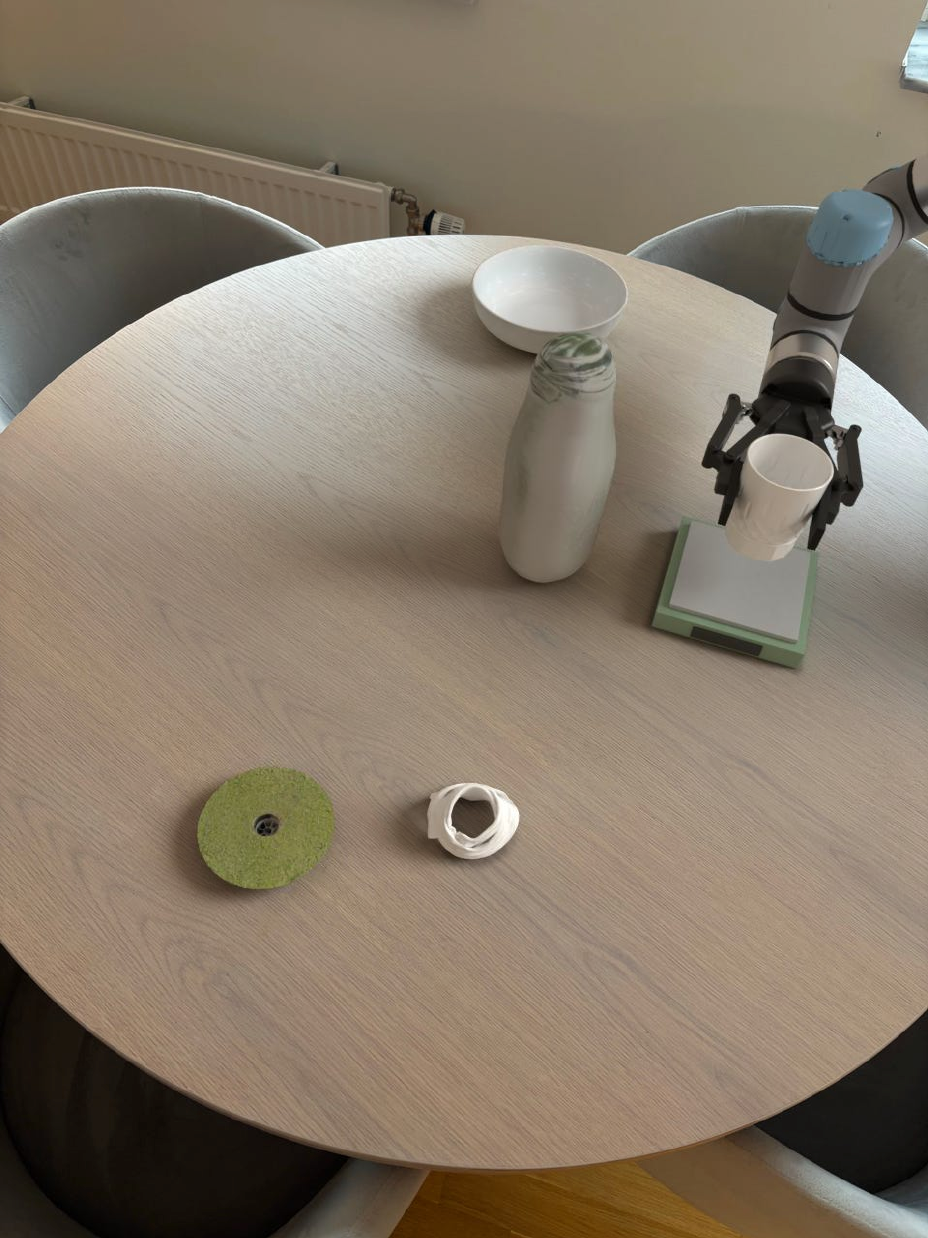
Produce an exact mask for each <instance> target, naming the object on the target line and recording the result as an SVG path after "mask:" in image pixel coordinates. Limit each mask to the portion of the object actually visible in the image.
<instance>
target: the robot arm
mask: <svg viewBox="0 0 928 1238" xmlns="http://www.w3.org/2000/svg"><path fill="white" fill-rule="evenodd" d="M927 232H928V151H927V152H925V153H923V154H920V155H919V156H917V158H915V159H913V160H910V161H908V162H907V163H904V164H898V165H894V166H892V167H889V168H888V169H885V170H884V171H882V172H880V173H878V174H877V175H875V176H874V177H872V178H871V179H870V180H869V181H868V182H867V183H866V185H865V186H863V187H862V189H856V188H855V189H854V188H853V189H852V188H847V189H846V188H845V189H843V190H841V191H839V190H836V191H832V192H831V193H829V194H827V195H826V196H825V197H824V198H823V199H822V201H821V202H820V204H819V206H818V208H817V211H816V213H815V216H814V218H813V220H812V221H811V222H810V224H809V226H808V229H807V234H806V239H805V242H804V245H803V247H802V251H801V253H800V256H799V259H798V262H797V265H796V267H795V270H794V273H793V277H792V279H791V282H790V284H789V287H788V290H787V292H786V294H785V297H784V299H783V301H782V303H781V304H780V306H779V308H778V310H777V313H776V315H775V316H776V317H775V319H774V320H773V325H772V335H771V341H770V345H769V351H768V354H767V358H766V361H765V364H764V365H765V367H764V370H763V374H762V377H761V382H760V385H759V390H758V396H757V398H756V399H754V400H753V401H752V402H748V401H741V397H740V395H738V394H737V393H729V394H728V396H727V399H726V401H725V405H724V408H723V411H722V414H721V420H720V422H719V423H718V424H717V427H716V429H715V430H714V432H713V434H712V436H711V437H710V439H709V441H708V443H707V445H706V448H705V451H704V454H703V457H702V460H701V462H700V463H701V467H702V468H704V469H706V470H711V469H714V470H715V471H716V472H717V474H716V477H715V483H714V488H713V491H714V494H716V495H719V496H723V500H722V504H721V508H720V512H719V515H718V520H717V525H718V526H722V527H726V523H727V521H728V518H729V516H730V513H731V510H732V508H733V505H734V501H735V497H736V492H737V488H738V484H739V480H740V475H741V470H742V467H743V464H744V461H745V457H746V454H747V451H748V448H749V446H750V445H751V443H752V442H753V441H755V440H756V439H758V438H760V437H762V436H765V435H770V434H788V435H793V436H797V437H800V438H803V439H806V440H808V441H810V442H812V443H813V444H815V445H817V446H818V447H819V448H821V449H822V450H823V451H824V452H825V453H826V454H827V455H828V457H829V458H830V460H831V462H832V464H833V468H834V474H833V477H832V479H831V481H830V483H829V485H828V486H827V488H826V490H825V492H824V494H823V496H822V497H821V499H820V501H819V503H818V505H817V507H816V508H815V510H814V512H813V514H812V516H811V518H810V519H811V520H810V525H809V526H810V527H809V533H808V539H807V544H806V545H807V546H806V550H810V551H814V552H816V550H817V548H818V546H819V544H820V542H821V540H822V538H823V536H824V535H825V532H826V529H827V525H830V526H832V525H833V523H835V520H836V519H837V516H838V515H839V513H840V508H841V504H842V505H844V506H845V507H848V508H850V507H853V506H854V505H855V504H856V501H857V500H858V498H859V496H860V494H861V492H862V490H863V488H864V487H865V485H864V479H863V478H864V477H863V471H862V463H861V455H860V448H859V441H858V439H859V437H860V435H861V433H862V431H863V428H862V427H861V425H858V424H854V423H853V424H850V426H849V427H848V428H846V427H843V426H840V425H838V424H836V421H835V418H834V417H833V416H832V410H833V403H834V397H835V389H836V385H837V384H836V383H837V375H838V368H839V360H840V354H841V351H842V350H841V349H842V345H843V343H844V339H845V337H846V335H847V332H848V330H849V328H850V325H851V323H852V320H853V318H854V316H855V314H856V311H857V309H858V307H859V303H860V301H861V299H862V297H863V295H864V293H865V290H866V288H867V286H868V283H869V281H870V279H871V277H872V276H873V274H874V273H875V271H876V270H878V268H880V267H881V266H882V265H883V264H884V262H886V261H887V260H888V259H889V258H890V256H892V255H893V254H894V253H895V252H896V251H897V250H898V249H899V248H900V247H901V246H902V245H903V244H904V243H906V242H908V241H910V240H912V239H914V238H916V237H918V236H921V235H922V234H925V233H927ZM745 417H749V419H750V421H751V422H752V423H753V425H754V427H752V428H751V429H750V430H749V431H747V432H746V434H744V435H743V436H741V438H739V440H738V441H735V443H733V445H731V447H729V448H728V449H727V450H726V451H724V448H725V446H726V444H727V442H728V441H729V439H730V437H731V435H732V433H733V431H734V429H735V426H736V425H740V423H741V421H744V419H745ZM828 438H830V439H832V440H833V444H834V447H833V450H835V451H837V452H836V463H835V461H834V458H833V456H832V455H831V453H830V450H829V449H828V445H827V444H826V441H825V439H828Z"/></svg>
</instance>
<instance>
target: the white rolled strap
mask: <svg viewBox="0 0 928 1238" xmlns="http://www.w3.org/2000/svg"><path fill="white" fill-rule="evenodd" d="M459 798H463V799H465V800H467V801H472V802H473V801H476V802H477V801H488V802H489V804H490V805H491V806H490V807H491V808H492V811H493V812H492V813H493V817H494V821H493V822H492V824H491V825H489V827H488V828H486V829H485V830H484V831H483V832H482V833H480V834H479V835H478V836H477V837H474V838H473V837H469V836H467V835H466V834H465V833H463V832H461V831H457V829H456V828H455V827H454V826H452V824H453V821H452V813H453V810H454V806H455V805H456V803H457V802H458V800H459ZM429 799H430V802H429V805H428V809H427V813H426V817H427V821H428V823H427V824H428V825H427V826H428V827H427V838H428V839H433V840H434V839H437V841H438V842H439V844H441V846H442V847H443V848H444V849H445V850H446V851H448V852H449V853H450V854H452V855H453V856H455V857H457V858H460V859H467V860H478V859H484V858H487V857H489V856H491V855H493V854H496V853H497V852H498V851H499V850H500V849H502V848H503V847H504V846H505V845H506V844H508V842H509V841H510V840H511V839H512V837H513V836H514V834H515V833H516V830H517V828H518V825H519V822H520V812H519V809H518V807H517V806H516V804H515V803H514V802H513V800H511V798H509V797H508V795H507V794H506V793H505V792H504V791H502V790H500V789H498V788H495V787H491V786H489V785H487V784H484V783H476V782H468V783H464V782H463V783H456V784H452V785H449V786H446V787H443V788H442V789H440V790H439V791H436V792H433V793H431V794H430V796H429Z"/></svg>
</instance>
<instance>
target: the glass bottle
mask: <svg viewBox="0 0 928 1238" xmlns="http://www.w3.org/2000/svg"><path fill="white" fill-rule="evenodd" d="M530 369H531V370H530V375H529V381H528V385H527V389H526V393H525V396H524V399H523V402H522V404H521V406H520V408H519V411H518V413H517V416H516V418H515V421H514V424H513V426H512V429H511V432H510V434H509V438H508V441H507V444H506V445H507V446H506V450H505V456H504V463H503V464H504V467H503V475H502V477H503V478H502V491H501V503H500V511H499V519H498V522H499V523H498V537H499V542H500V546H501V550H502V553H503V556H504V558H505V560H506V562H507V564H508V566H509V567H510V568H511V569H512V570H513V571H515V573H517V575H518V576H520V577H521V578H523V579H526V580H528V581H531V582H534V583H541V584H546V583H553V582H558V581H560V580H564V579H567V578H568V577H570V576H572V575H574V574H575V573H576V572H577V571H578V570H579V569H580V568H581V567H582V566H583V565H585V563H586V561H587V560H588V559H589V557H590V555H591V553H592V551H593V550H594V547H595V544H596V541H597V538H598V535H599V530H600V527H601V522H602V518H603V514H604V511H605V506H606V502H607V498H608V496H609V492H610V487H611V484H612V480H613V474H614V471H615V466H616V458H617V457H616V456H617V439H616V438H617V437H616V429H615V423H614V394H615V388H616V383H617V366H616V361H615V359H614V356H613V353H612V349H611V348H610V346H609V345H608V344H607V342H606V341H605V340H604V339H603V340H602V338H600V337H597V336H595V335H592V334H590V333H584V332H574V333H567V334H564V335H560V336H558V337H555V338H554V339H552V340H550V341H549V342H547V343H546V344H545V345H544V346H543V347H542V349H541V350H540V351H539V353H538V354H537V355H535V358H534V360H533V363H532V366H531V368H530Z"/></svg>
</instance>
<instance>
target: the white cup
mask: <svg viewBox="0 0 928 1238" xmlns="http://www.w3.org/2000/svg"><path fill="white" fill-rule="evenodd" d="M833 474H834V468H833V464H832V462H831V460H830V458H829V457H828V455H827V454H826V453H825V452H824V451H823V450H822V449H821V448H819V447H818V446H817V445H815V444H813V443H812V442H810V441H808V440H806V439H803V438H800V437H797V436H793V435H788V434H770V435H765V436H762V437H760V438H758V439H756V440H755V441H753V442H752V443H751V445H750V446H749V448H748V451H747V454H746V457H745V461H744V464H743V467H742V470H741V475H740V480H739V484H738V488H737V492H736V497H735V501H734V505H733V508H732V510H731V513H730V516H729V518H728V521H727V523H726V526H725V528H726V529H725V535H726V537H727V540H728V542H729V544H730V545H731V546H732V547H733V548H734V549H735V550H736V551H738V552H739V553H740V554H742V555H744V556H746V557H749V558H751V559H753V560H759V561H769V562H770V561H774V560H778V559H781V558H784V557H785V556H786V555H787V554H788V553H789V552H790V551H791V550H792V548H793V546H795V544H796V542H797V540H798V539H799V537H800V535H801V534H802V533H803V531H804V529H805V528H806V527H807V524H808V522H809V521H810V519H811V518H812V514H813V512H814V510H815V508H816V507H817V505H818V503H819V501H820V499H821V497H822V496H823V494H824V492H825V490H826V488H827V486H828V485H829V483H830V481H831V479H832V477H833Z"/></svg>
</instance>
